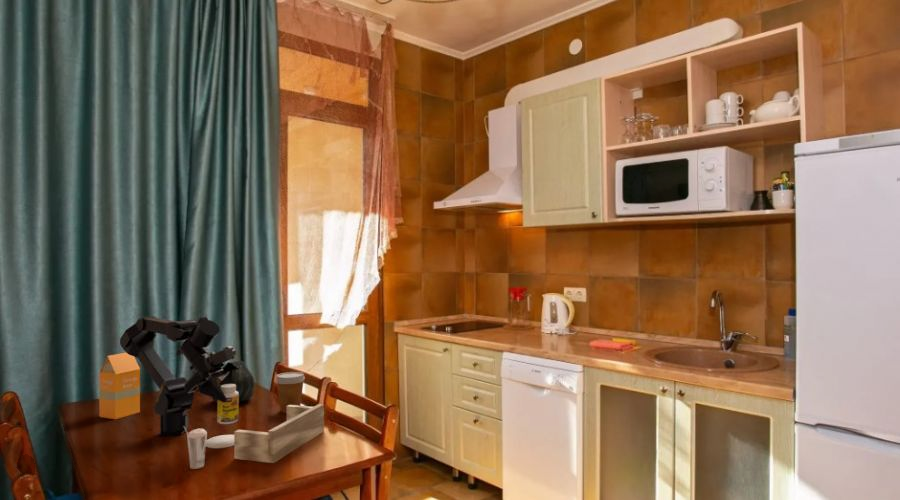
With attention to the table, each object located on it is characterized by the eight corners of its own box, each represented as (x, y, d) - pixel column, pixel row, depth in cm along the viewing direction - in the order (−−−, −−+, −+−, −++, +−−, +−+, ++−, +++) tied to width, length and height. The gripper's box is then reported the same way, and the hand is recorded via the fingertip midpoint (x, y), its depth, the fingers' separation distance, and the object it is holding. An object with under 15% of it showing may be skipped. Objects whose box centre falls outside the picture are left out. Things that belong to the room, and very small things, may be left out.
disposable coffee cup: (310, 407, 188) (310, 372, 188) (295, 415, 179) (295, 378, 179) (285, 405, 190) (285, 371, 190) (269, 413, 181) (269, 377, 181)
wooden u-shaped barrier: (234, 458, 141) (234, 427, 141) (289, 427, 166) (289, 401, 166) (273, 463, 138) (273, 431, 138) (323, 431, 163) (323, 404, 163)
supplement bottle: (219, 426, 151) (220, 389, 151) (215, 420, 155) (215, 384, 155) (240, 422, 154) (241, 386, 154) (235, 417, 159) (236, 382, 158)
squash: (195, 388, 193) (218, 358, 190) (227, 380, 207) (249, 352, 204) (217, 418, 189) (241, 388, 185) (249, 409, 202) (271, 380, 199)
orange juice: (98, 416, 178) (98, 355, 178) (124, 409, 186) (124, 350, 186) (115, 419, 175) (115, 356, 175) (140, 411, 183) (140, 352, 183)
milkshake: (187, 463, 138) (187, 423, 138) (209, 462, 139) (209, 423, 139) (180, 470, 134) (180, 429, 134) (203, 469, 134) (203, 428, 134)
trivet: (199, 449, 148) (199, 447, 148) (210, 436, 158) (210, 435, 158) (238, 447, 150) (238, 445, 150) (246, 435, 159) (246, 433, 159)
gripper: (194, 343, 146) (229, 388, 144) (237, 333, 165) (269, 372, 162) (168, 370, 148) (203, 415, 146) (213, 357, 166) (245, 397, 164)
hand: (232, 398), depth 154 cm, fingers closed on supplement bottle, 6 cm apart
